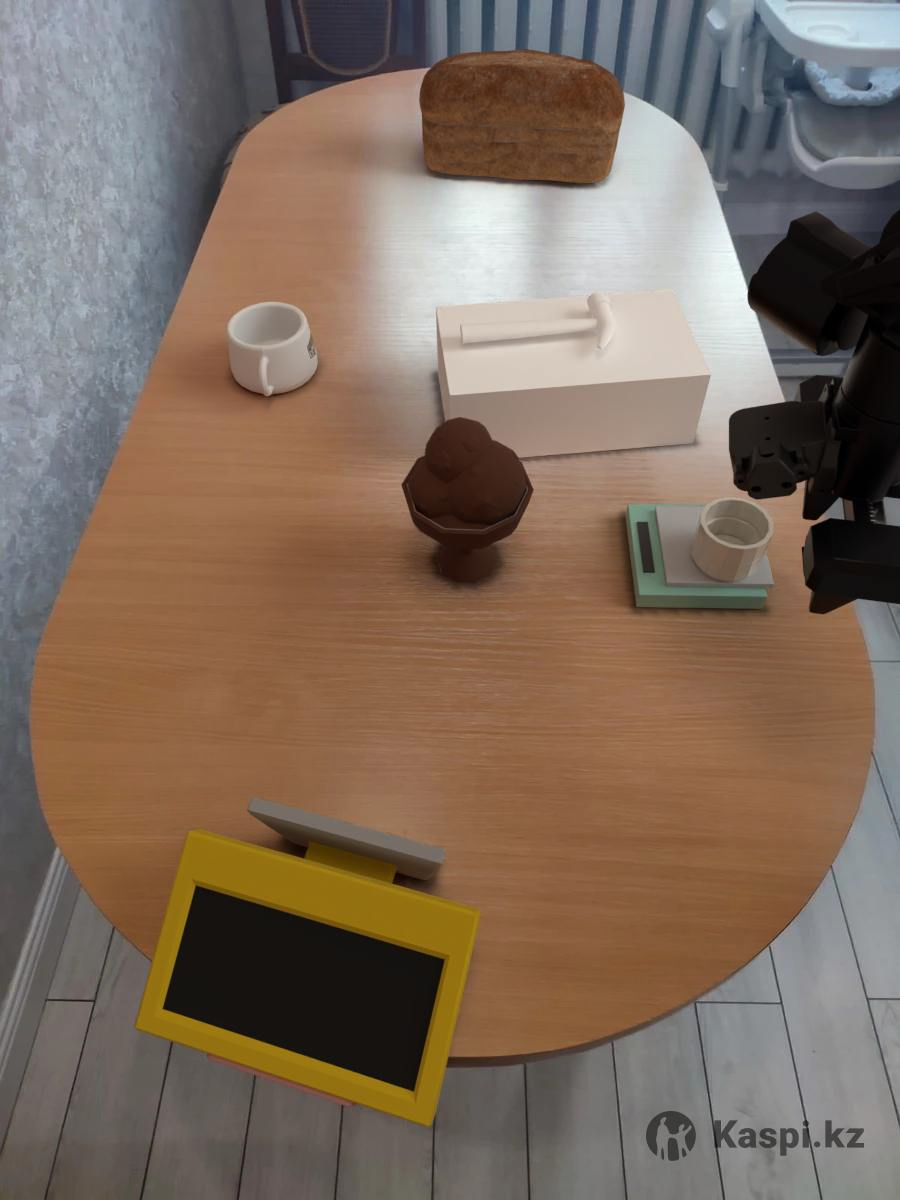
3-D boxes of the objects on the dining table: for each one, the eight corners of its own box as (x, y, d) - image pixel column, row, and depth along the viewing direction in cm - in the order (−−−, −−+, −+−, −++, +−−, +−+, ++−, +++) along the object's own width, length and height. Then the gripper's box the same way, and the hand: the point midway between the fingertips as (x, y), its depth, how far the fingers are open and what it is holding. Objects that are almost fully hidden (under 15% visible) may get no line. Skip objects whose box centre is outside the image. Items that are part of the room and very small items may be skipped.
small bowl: (758, 537, 80) (772, 501, 77) (760, 588, 77) (774, 553, 73) (691, 528, 81) (701, 492, 78) (689, 578, 77) (699, 543, 74)
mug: (239, 344, 103) (228, 298, 99) (322, 343, 103) (315, 297, 99) (223, 412, 96) (211, 366, 91) (313, 410, 96) (305, 364, 91)
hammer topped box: (693, 443, 92) (716, 354, 83) (451, 463, 90) (449, 375, 82) (658, 357, 101) (676, 269, 92) (438, 374, 99) (435, 286, 91)
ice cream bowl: (390, 588, 81) (376, 465, 69) (437, 505, 87) (432, 379, 75) (500, 622, 78) (506, 500, 66) (541, 534, 84) (552, 409, 73)
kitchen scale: (747, 518, 85) (753, 500, 83) (769, 609, 78) (776, 592, 76) (625, 516, 85) (628, 499, 84) (636, 607, 79) (640, 590, 77)
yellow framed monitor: (493, 860, 57) (422, 1138, 50) (495, 883, 63) (433, 1130, 57) (206, 782, 60) (103, 1031, 53) (239, 812, 67) (151, 1036, 60)
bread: (430, 141, 134) (426, 35, 123) (618, 153, 131) (632, 44, 119) (415, 181, 127) (409, 71, 115) (613, 194, 123) (628, 82, 112)
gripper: (750, 294, 60) (703, 464, 73) (756, 485, 49) (699, 649, 61) (923, 309, 59) (845, 480, 71) (970, 510, 48) (868, 673, 60)
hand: (812, 563), depth 66 cm, fingers open, 9 cm apart
